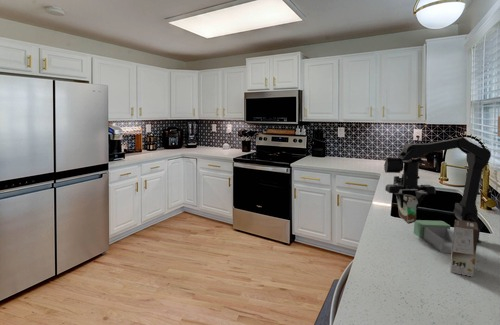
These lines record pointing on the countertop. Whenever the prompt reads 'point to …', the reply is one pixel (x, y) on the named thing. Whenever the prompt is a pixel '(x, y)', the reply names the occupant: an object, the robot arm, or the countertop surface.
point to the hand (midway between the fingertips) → (408, 208)
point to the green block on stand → (435, 234)
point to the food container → (408, 208)
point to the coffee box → (464, 247)
